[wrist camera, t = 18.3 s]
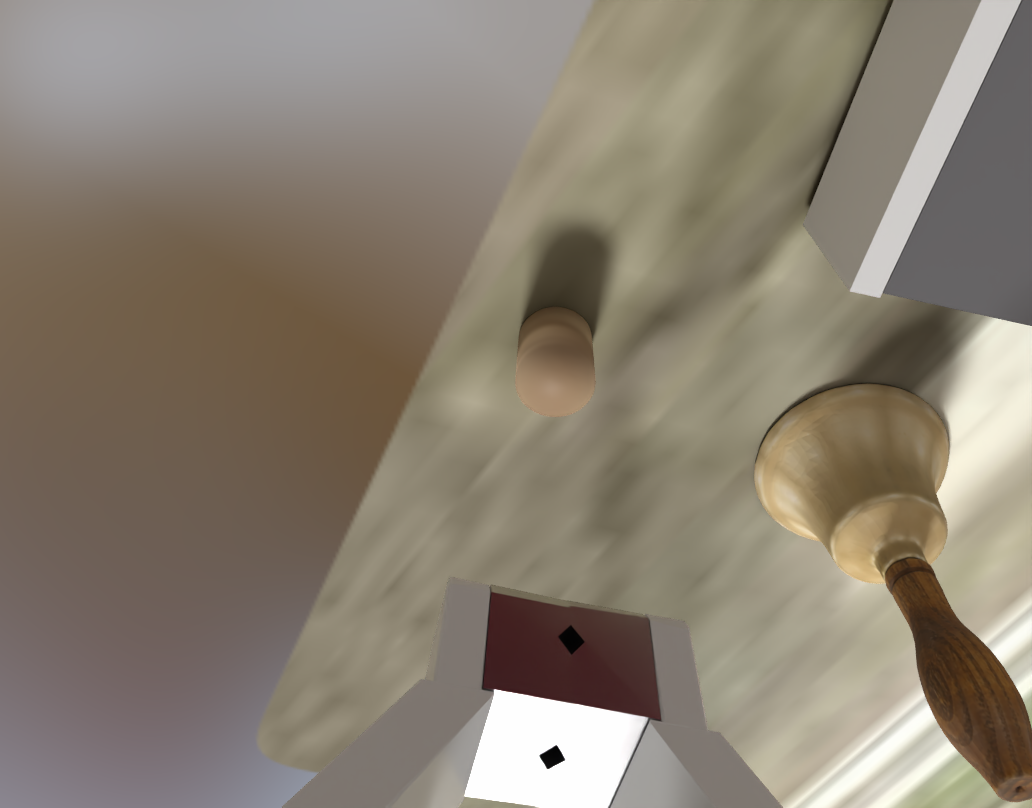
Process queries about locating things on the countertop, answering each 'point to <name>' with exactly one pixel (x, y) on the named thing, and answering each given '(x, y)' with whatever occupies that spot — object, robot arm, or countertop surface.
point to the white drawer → (901, 132)
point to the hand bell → (897, 551)
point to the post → (555, 362)
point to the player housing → (981, 199)
